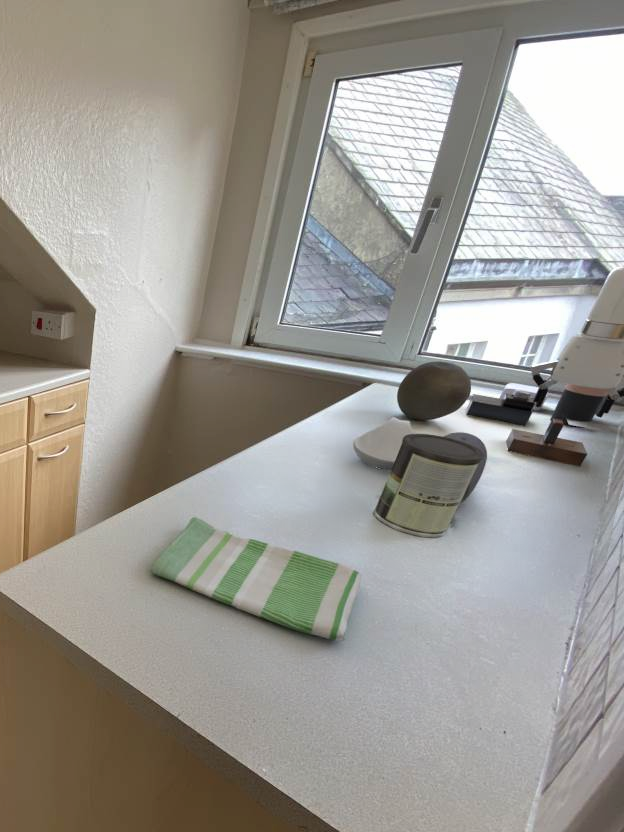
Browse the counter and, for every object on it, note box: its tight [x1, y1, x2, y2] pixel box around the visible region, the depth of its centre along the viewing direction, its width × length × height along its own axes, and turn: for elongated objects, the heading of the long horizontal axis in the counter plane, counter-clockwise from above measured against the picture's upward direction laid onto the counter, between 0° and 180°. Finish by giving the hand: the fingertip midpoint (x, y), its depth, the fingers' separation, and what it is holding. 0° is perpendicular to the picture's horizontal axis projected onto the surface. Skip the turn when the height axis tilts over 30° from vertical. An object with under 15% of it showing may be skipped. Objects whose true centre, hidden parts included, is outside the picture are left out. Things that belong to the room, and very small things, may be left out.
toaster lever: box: [512, 390, 530, 400], centre depth 142 cm, size 3×3×2 cm
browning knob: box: [543, 418, 565, 444], centre depth 121 cm, size 4×2×5 cm, turn 139°
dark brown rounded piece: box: [396, 360, 472, 421], centre depth 138 cm, size 14×14×15 cm
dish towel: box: [149, 516, 362, 642], centre depth 75 cm, size 18×23×3 cm
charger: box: [499, 382, 549, 411], centre depth 159 cm, size 5×9×15 cm
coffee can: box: [373, 433, 484, 538], centre depth 89 cm, size 10×10×14 cm
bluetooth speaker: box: [442, 431, 488, 504], centre depth 100 cm, size 23×9×10 cm, turn 134°
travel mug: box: [549, 384, 608, 429], centre depth 139 cm, size 8×8×20 cm
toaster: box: [465, 393, 535, 427], centre depth 145 cm, size 12×9×6 cm
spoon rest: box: [352, 417, 414, 471], centre depth 116 cm, size 24×12×7 cm, turn 140°
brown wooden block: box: [506, 428, 588, 468], centre depth 123 cm, size 12×9×3 cm
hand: (567, 410), depth 119 cm, fingers open, 9 cm apart
